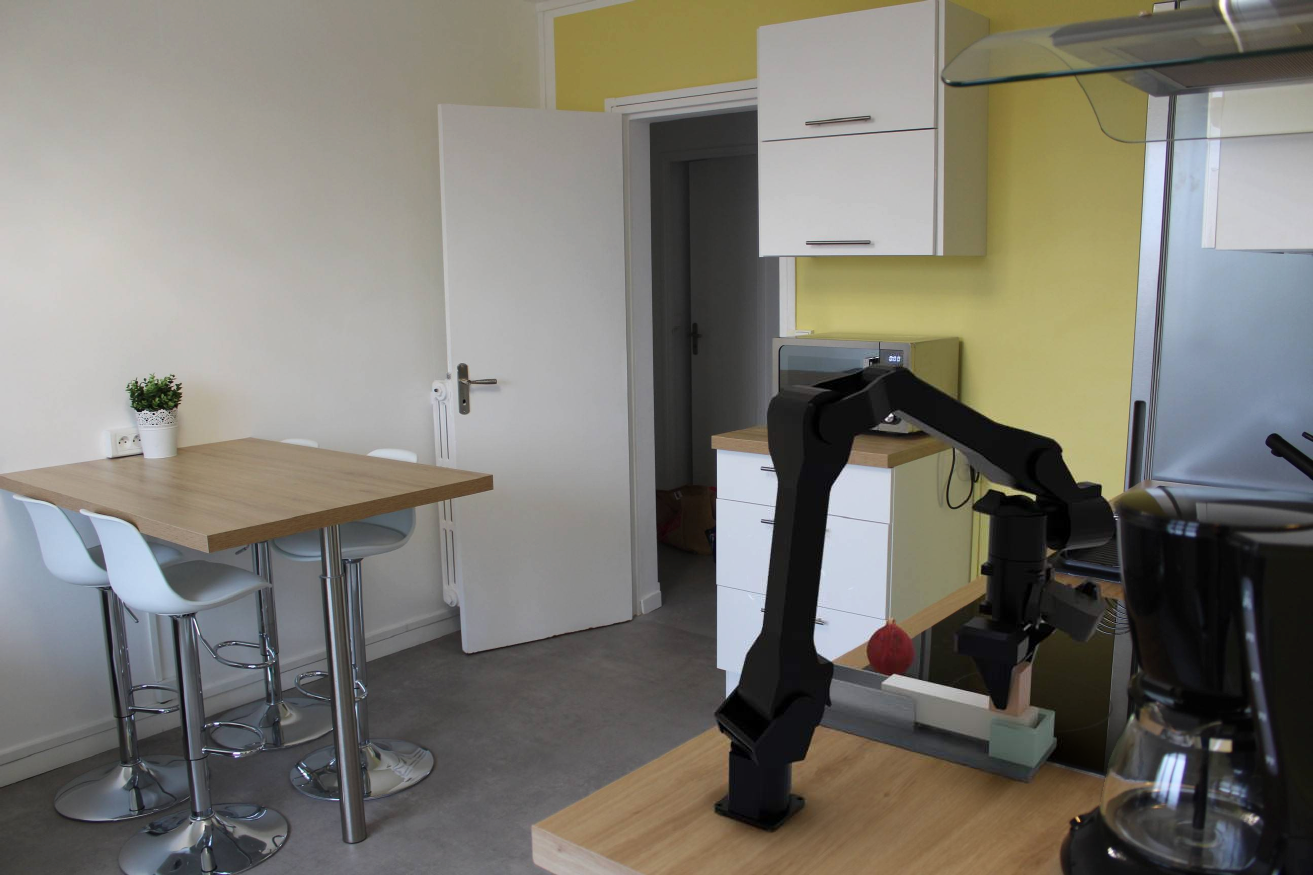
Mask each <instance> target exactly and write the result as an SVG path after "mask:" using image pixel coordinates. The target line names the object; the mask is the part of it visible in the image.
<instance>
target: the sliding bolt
mask: <svg viewBox="0 0 1313 875" xmlns="http://www.w3.org/2000/svg"><path fill="white" fill-rule="evenodd" d="M1032 667H1033V664H1032V663H1030V662H1025V661H1023V662H1022V663H1020V664H1018V665H1017V667H1016V672H1015V676H1014V681H1013V685H1012V689H1011V694H1010V698H1009V702H1008V706H1007V709H1006V710H1000V709H996V708H995V707H994V704H993V702H992V700H991V697H990V695H989V694H988V695H984V694H981V693H977V692H972V691H968V690H964V689H959V688H956V687H955V688H954V687H952V686H951V687H950V686H948V685H942V684H938V683H934V682H930V681H924V680H920V679H918V678H914V677H913V678H912V677H909V676H904V675H896V674H893V675H892V676H890V677H889V678H888V679H886V680H885V681H884V682H882V683H881V691H884V692H888V693H892V694H896V695H900V696H905V697H909V698H913V699H916V716H915V721H916V722H919V723H923V724H927V725H931V726H935V727H939V728H943V729H946V730H950V731H954V732H958V733H962V734H966V735H969V736H973V737H977V738H981V739H985V740H989V739H990V723H991V722H992V721H993V720H994V719H998V720H1002V721H1006V722H1010V723H1014V724H1018V725H1022V726H1026V727H1030V728H1034V729H1036V728H1037V724H1038V708H1039V707H1038V706H1034V707H1032V706H1033V705H1030V701H1031V686H1032V684H1031V683H1032V682H1031V681H1032V669H1033V668H1032ZM1029 705H1030V706H1029ZM1037 707H1038V708H1037Z"/></svg>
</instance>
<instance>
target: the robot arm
mask: <svg viewBox="0 0 1313 875" xmlns="http://www.w3.org/2000/svg"><path fill="white" fill-rule="evenodd" d="M890 415H893V416H895V417H897V418H898V419H900V420H903V421H904V422H906V423H907V424H910V425H911V426H913V427H915V428H916V429H919V430H920V431H923V432H924V433H926V434H928V435H930V436H932V437H934V439H935V438H936V439H937V440H939V441H941V442H942V443H945V444H947V445H948V446H950V447H952V448H954V449H955V450H958V451H959V452H960V453H961V454H962V455H963V456H965V457H966V459H967V461H968V463H969V464H970V466H971V468H973V469H974V470H976V471H977V472H978V473H979V474H980V475H981V476H983V477H984V478H985V479H987V481H989V482H990V483H993V484H995V485H999V486H1002V487H1007V488H1010V489H1011V490H1013V491H1017V492H1021V493H1026V494H1029V495H1033V496H1035V500H1034V499H1033V498H1031V497H1030V496H1028V495H1025V494H1011V495H1010V494H1009V495H1007V494H1006V493H1005V492H1004V491H1000V490H996V489H992V488H989V489H988V490H987V492H986V493H985V494H984V495H983V496H982V497H980V498H979V499H978V500H976V501H975V502H974V503H973V504H972V506H971V510H972V511H974V512H977V513H979V514H982V515H986V516H988V517H989V520H988V521H989V523H988V542H987V543H988V544H987V561H985V562H983V563H982V564H981V565H980V575H982V576H986V585H985V599H984V600H982V601H981V602H980V603H978V614H980V615H986V616H991V617H990V618H991V619H990V618H985V617H979V616H974V617H973V618H972V619H970V620H969V621H968V622H966V623H965V624H963V625H962V626H961V627H960V628H958V629H957V630H956V631H954V633H953V635H954V636H953V651H954V652H955V653H956V654H959V655H964V656H969V657H971V659H972V661H973V663H974V665H975V667H976V669H977V671H978V673H979V674H980V677H981V679H982V681H983V683H984V686H985V688H986V690H987V692H988V696H989V695H990V697H991V700H992V702H993V704H994V707H995V708H996V709H1000V710H1006V709H1007V706H1008V702H1009V698H1010V694H1011V689H1012V685H1013V681H1014V676H1015V672H1016V667H1017V665H1018V664H1020V663H1022V662H1023V661H1025V662H1030V663H1032V665H1033V664H1034V661H1035V658H1036V654H1037V652H1038V650H1039V645H1040V644H1041V643H1042V642H1043V641H1045V640H1046V639H1048V638H1049V637H1050V636H1052V635H1053V633H1055V632H1056V631H1057V630H1058V631H1061V632H1063V633H1065V634H1067V635H1068V636H1069V638H1070V639H1072V640H1074V641H1075V642H1079V643H1082V644H1084V643H1088V641H1089V640H1090V638H1091V637H1092V636H1094V635H1095V632H1096V630H1097V629H1098V626H1099V624H1100V622H1101V621H1102V619H1103V617H1104V615H1105V613H1106V611H1107V609H1108V607H1107V606H1106V605H1107V602H1106V601H1104V600H1102V591H1101V590H1102V588H1101V584H1099V583H1098V582H1095V581H1093V580H1091V579H1089V578H1086V579H1084V580H1083V581H1081V582H1080V583H1079V584H1077V585H1075V586H1074V587H1072V586H1073V585H1072V584H1071V583H1069V582H1068V583H1066V584H1064V583H1062V582H1060V581H1058V580H1055V572H1056V571H1055V567H1053V563H1049V562H1048V549H1049V550H1051V551H1054V552H1057V551H1060V552H1061V551H1067V550H1068V551H1069V550H1075V549H1076V550H1077V549H1084V548H1085V549H1086V548H1092V547H1099V546H1103V545H1105V544H1108V543H1109V542H1110V541H1111V539H1112V538H1113V537H1114V534H1115V531H1116V529H1117V528H1116V527H1117V519H1116V517H1115V514H1114V511H1113V508H1112V506H1111V504H1110V503H1109V501H1108V500H1107V499H1106V498H1105V497H1104V496H1103V495H1102V494H1103V493H1102V492H1103V491H1102V490H1103V485H1102V484H1101V483H1096V482H1091V481H1088V480H1087V481H1079V482H1076V480H1075V478H1074V476H1073V475H1072V472H1071V471H1070V469H1069V467H1068V466H1067V463H1065V460H1064V457H1063V452H1064V451H1063V450H1064V449H1063V447H1062V446H1061V444H1060V443H1059V442H1057V441H1056V440H1055V439H1054V438H1051V437H1049V436H1045V435H1042V434H1039V433H1035V432H1032V431H1029V430H1025V429H1022V428H1017V427H1014V426H1011V425H1007V424H1006V425H1005V424H1003V423H999V422H996V421H994V420H993V419H991V418H990V417H987V416H986V415H984V414H982V413H981V412H979V411H977V410H975V409H974V408H972V407H970V406H968V405H967V404H965V403H963V402H962V401H961V400H958V399H957V398H955V397H953V396H951V395H949V394H947V393H946V392H944V391H942V390H941V389H940V388H937V387H935V386H933V385H932V384H930V383H929V382H927V381H925V380H923V379H921V378H920V377H918V376H916V375H915V373H913V372H912V371H911V370H910V369H909V368H907V367H906V366H901V365H895V364H887V363H886V364H885V363H873V364H870V365H868V366H866V367H863V368H861V369H859V370H857V371H856V370H855V371H854V372H851V373H847V374H843V375H840V376H837V377H833V378H829V379H826V380H822V381H818V382H815V383H813V384H811V385H801V384H794V385H788V386H786V387H784V388H783V389H781V390H780V391H779V392H778V393H777V394H776V395H774V396H773V397H772V398H771V399H770V401H769V404H768V408H767V412H766V428H767V430H766V431H767V447H768V448H767V449H768V452H769V455H770V458H771V462H772V464H773V469H774V472H775V475H776V479H777V488H776V489H777V490H776V500H775V507H774V508H775V510H774V515H773V516H774V517H773V518H774V519H773V527H772V534H771V536H772V537H771V546H770V554H769V562H768V565H769V566H768V572H767V579H766V580H767V582H766V590H765V591H766V592H765V599H764V600H765V602H764V611H763V617H762V618H763V619H762V627H761V630H760V632H759V634H758V636H757V638H756V639H754V640H755V641H753V644H751V646H750V648H749V649H748V650H747V652H746V654H745V657H744V661H743V666H742V669H741V673H740V676H739V681H738V684H736V687H735V688H734V689H733V690H732V692H730V694H729V695H728V696H727V697H726V698H725V700H723V702H722V703H721V704H720V705H719V707H718V708H717V709H716V711H715V712H714V713H713V717H714V719H715V723H716V726H717V728H718V731H719V732H720V733H721V734H723V735H725V736H726V737H727V738H728V739H729V740H731V741H730V745H729V748H730V749H729V750H730V751H728V791H727V792H728V793H727V794H726V795H724V796H723V797H722V798H720V799H719V800H718V801H717V802H715V803H714V807H713V809H714V811H715V812H717V813H719V814H720V813H721V814H722V815H726V816H729V817H731V818H734V819H737V820H740V821H742V822H745V823H748V824H751V825H754V826H756V827H760V828H762V829H765V830H767V831H774V830H776V829H777V828H779V827H780V826H782V824H783V823H785V822H786V821H787V820H788V819H790V817H791V816H793V815H794V814H795V813H797V811H799V809H801V808H802V807H804V806H805V805H806V798H805V797H804V796H801V795H798V794H794V793H792V776H793V775H792V774H793V773H792V772H793V771H792V770H793V769H792V767H793V765H792V764H793V763H797V762H803V761H805V760H806V758H807V754H808V752H809V748H810V746H811V742H812V739H813V737H814V735H815V731H816V729H817V728H818V727H820V726H821V725H820V723H821V721H822V719H823V715H824V711H825V705H827V706H828V707H830V706H831V705H832V704H831V700H830V685H831V681H832V678H833V674H834V665H833V663H834V661H833V662H832V661H831V660H829V659H828V658H827V657H825V656H822V654H819V652H817V648H816V644H815V628H816V621H817V614H818V613H817V612H818V602H819V593H820V585H821V577H822V568H823V561H824V560H823V559H824V550H825V540H826V533H827V525H828V515H829V508H830V507H829V505H830V498H831V492H832V489H833V486H834V484H835V482H836V481H837V480H838V478H839V477H840V475H841V473H842V472H843V470H844V469H845V467H846V466H847V465H848V463H849V461H850V457H851V453H852V449H853V446H854V443H855V442H854V441H855V439H856V437H857V436H859V435H861V434H863V433H867V432H868V431H871V430H873V429H875V428H877V427H878V426H880V424H881V423H882V422H883V421H884V420H886V419H887V418H888V417H889V416H890Z"/></svg>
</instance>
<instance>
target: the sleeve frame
mask: <svg viewBox="0 0 1313 875" xmlns="http://www.w3.org/2000/svg"><path fill="white" fill-rule="evenodd" d="M833 665H834V674H833V678H832V681H831V685H830V700H831V704H832V705H831V706H830V707H828V706H827V705H825V711H824V715H823V719H822V721H821V723H820V725H819V726H823V727H827V728H830V729H834V730H837V731H841V732H844V733H848V734H851V735H855V736H859V737H863V738H865V739H870V740H873V741H877V742H880V743H884V744H887V745H891V746H895V747H898V748H902V749H905V750H907V751H913V752H916V753H919V754H924V755H927V756H929V757H934V758H937V759H940V760H945V761H948V762H951V763H952V762H953V763H955V764H958V765H962V766H966V767H969V768H974V769H977V770H981V771H984V772H988V773H990V774H991V773H992V774H995V775H999V776H1003V777H1005V778H1010V779H1013V780H1017V781H1020V782H1024V783H1028V784H1029V783H1030V782H1031V780H1032V779H1033V778H1034V776H1035V775H1036V774H1037V773H1038V772H1039V770H1040V769H1041V767H1042V766H1043V765H1044V763H1045V762H1046V761H1047V759H1049V757H1051V754H1052V753H1053V752H1054V751H1055V749H1056V748H1057V740H1058V739H1057V737H1055V736H1053V743H1052V745H1051V746H1050V747H1049V749H1048V750H1047V751H1046V752H1045V754H1044V755H1043V756H1042V758H1041V759H1040V760H1039V761H1038V763H1037V764H1036V765H1035V767H1034V768H1032V767H1029V766H1025V765H1021V764H1018V763H1014V762H1010V761H1006V760H1003V759H999V758H995V757H992V756H989V740H985V739H981V738H977V737H973V736H969V735H966V734H962V733H958V732H954V731H950V730H946V729H943V728H939V727H935V726H931V725H927V724H923V723H919V722H916V721H915V716H916V699H913V698H909V697H905V696H900V695H896V694H892V693H888V692H884V691H881V683H882V682H884V681H885V680H886V679H888V678H889V677H890V676H887V675H883V674H879V673H877V672H873V671H870V670H865V669H862V668H858V667H857V668H856V667H853V666H850V665H849V666H848V665H845V664H841V663H836V662H833Z"/></svg>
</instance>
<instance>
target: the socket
mask: <svg viewBox="0 0 1313 875" xmlns="http://www.w3.org/2000/svg"><path fill="white" fill-rule="evenodd" d="M1029 706H1032V707H1035V706H1033V705H1030V704H1029ZM1036 707H1037V708H1038V724H1037V728H1036V729H1034V728H1030V727H1026V726H1022V725H1018V724H1014V723H1010V722H1006V721H1002V720H998V719H994V720H993V721H992V722H991V723H990V739H989V756H992V757H995V758H999V759H1003V760H1006V761H1010V762H1014V763H1018V764H1021V765H1025V766H1029V767H1032V768H1034V767H1035V765H1036V764H1037V763H1038V761H1039V760H1040V759H1041V758H1042V756H1043V755H1044V754H1045V752H1046V751H1047V750H1048V749H1049V747H1050V746H1051V745H1052V743H1053V737H1054V732H1055V731H1054V730H1055V714H1056V712H1055V711H1054V710H1052V709H1045V708H1042V707H1038V706H1036Z"/></svg>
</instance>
